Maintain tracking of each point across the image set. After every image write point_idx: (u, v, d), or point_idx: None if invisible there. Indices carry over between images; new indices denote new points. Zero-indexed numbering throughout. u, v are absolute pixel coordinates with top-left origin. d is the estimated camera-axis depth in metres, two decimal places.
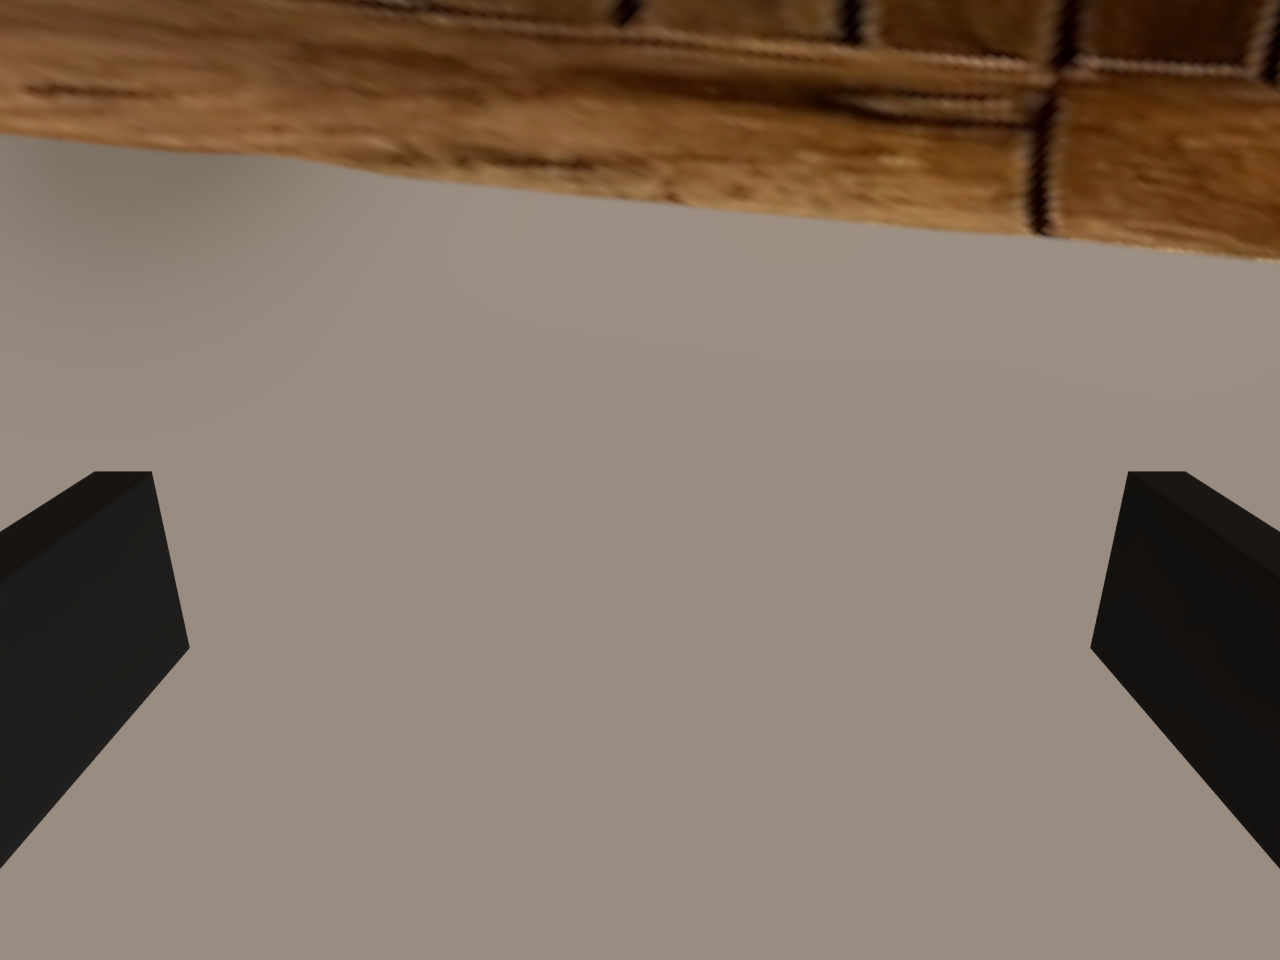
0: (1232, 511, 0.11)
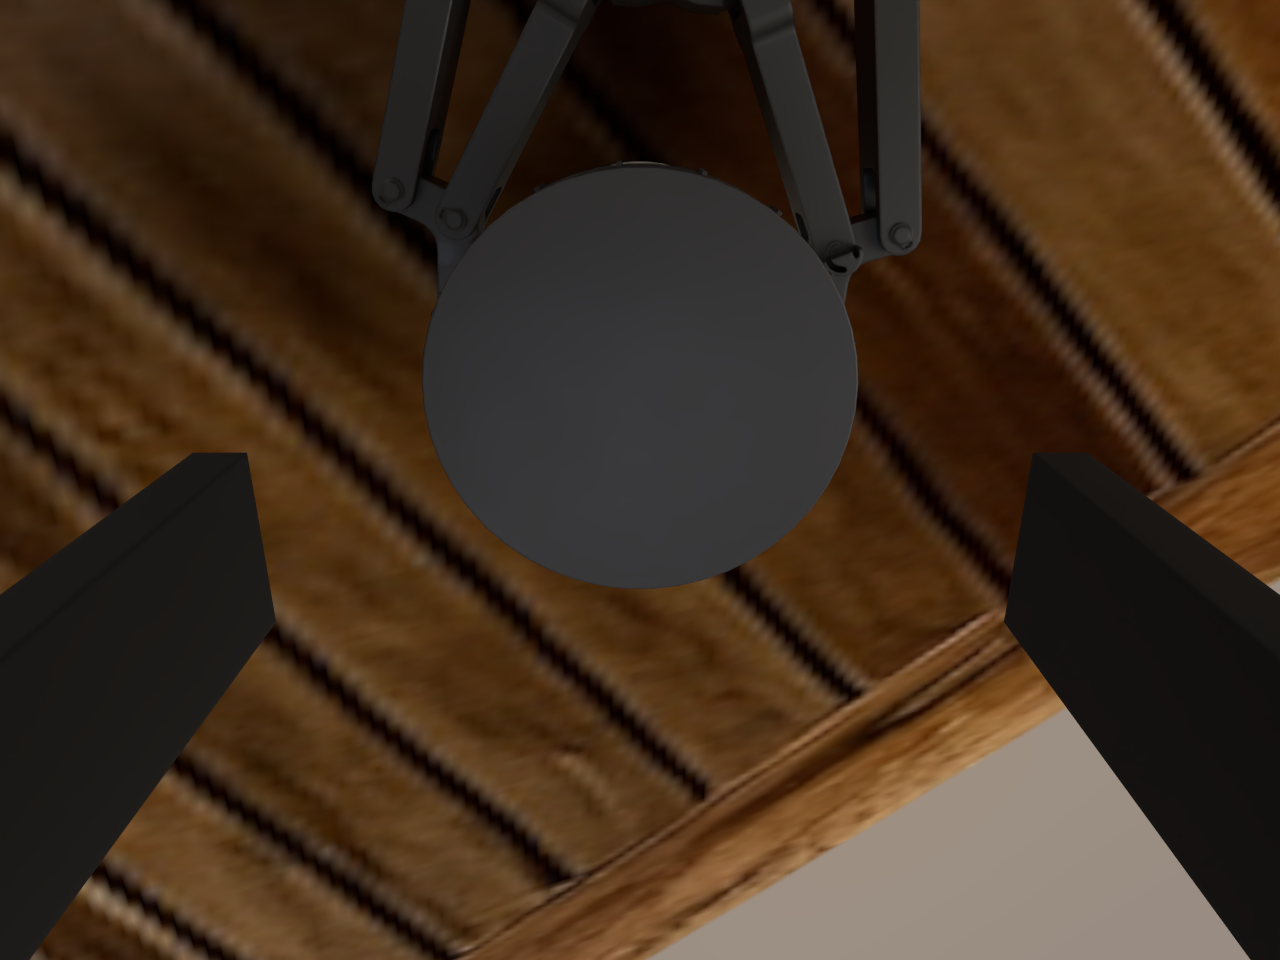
0: (1121, 488, 0.11)
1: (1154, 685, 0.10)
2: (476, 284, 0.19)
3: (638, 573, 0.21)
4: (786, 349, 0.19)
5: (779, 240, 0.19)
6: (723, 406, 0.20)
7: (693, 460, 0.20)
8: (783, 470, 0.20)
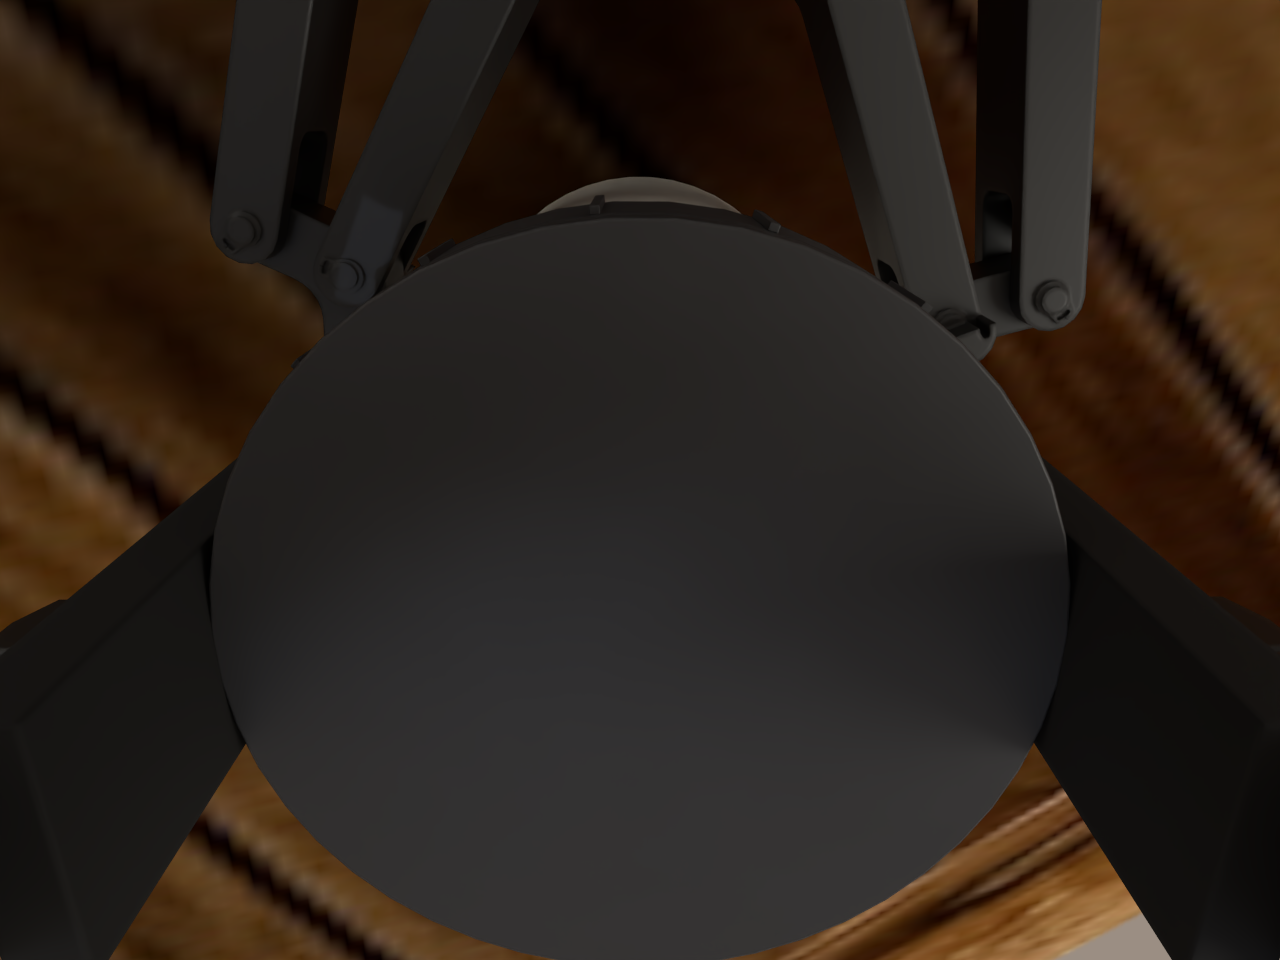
0: (1050, 475, 0.12)
1: (1070, 662, 0.10)
2: (304, 453, 0.09)
3: (637, 944, 0.12)
4: (932, 573, 0.10)
5: (931, 367, 0.09)
6: (802, 674, 0.10)
7: (741, 765, 0.11)
8: (913, 781, 0.11)
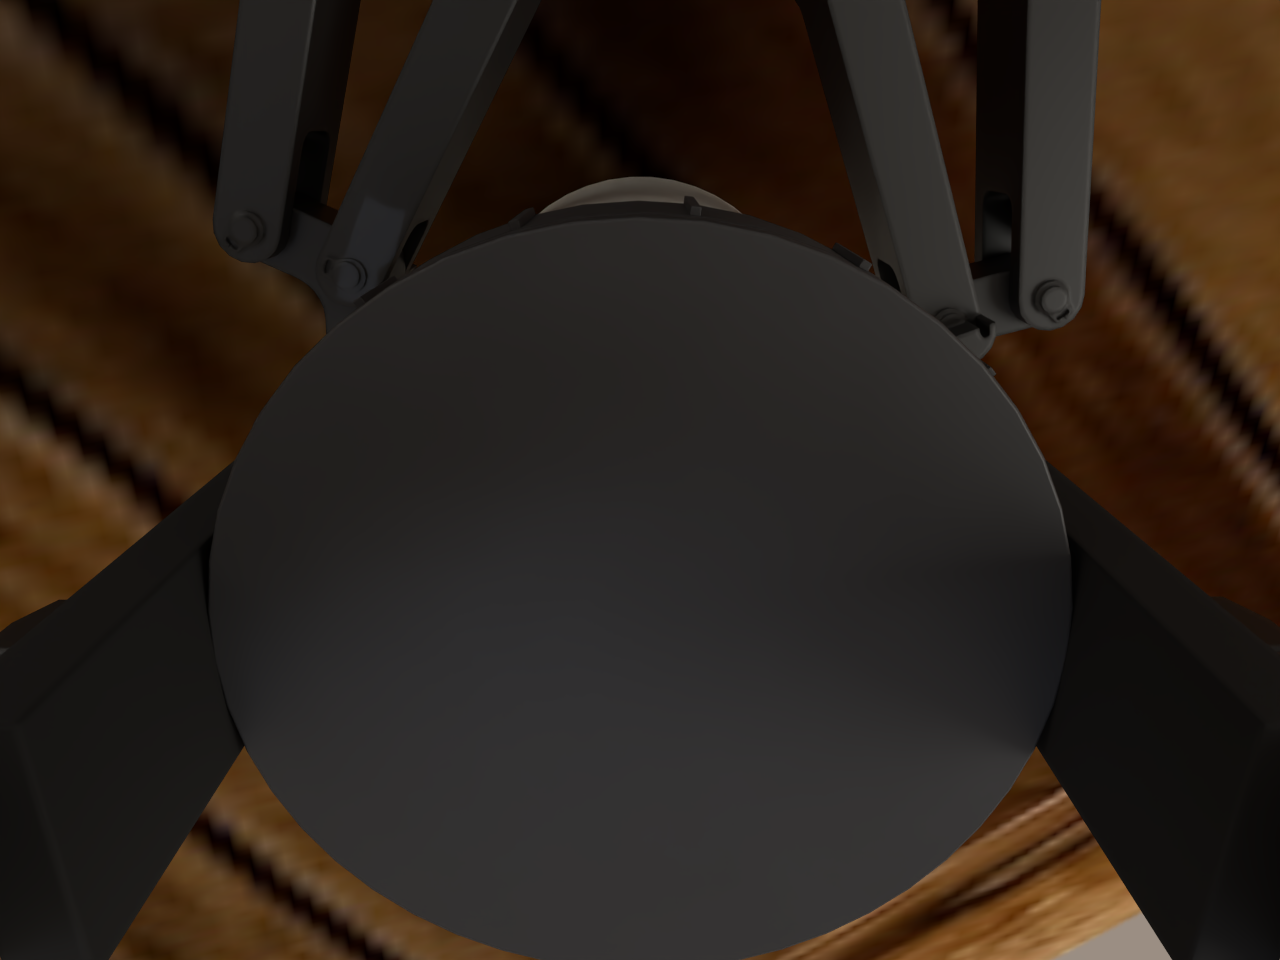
0: None
1: (1070, 663, 0.10)
2: (466, 903, 0.11)
3: (1032, 639, 0.10)
4: (509, 394, 0.09)
5: (288, 438, 0.09)
6: (647, 508, 0.09)
7: (770, 555, 0.10)
8: (790, 365, 0.09)
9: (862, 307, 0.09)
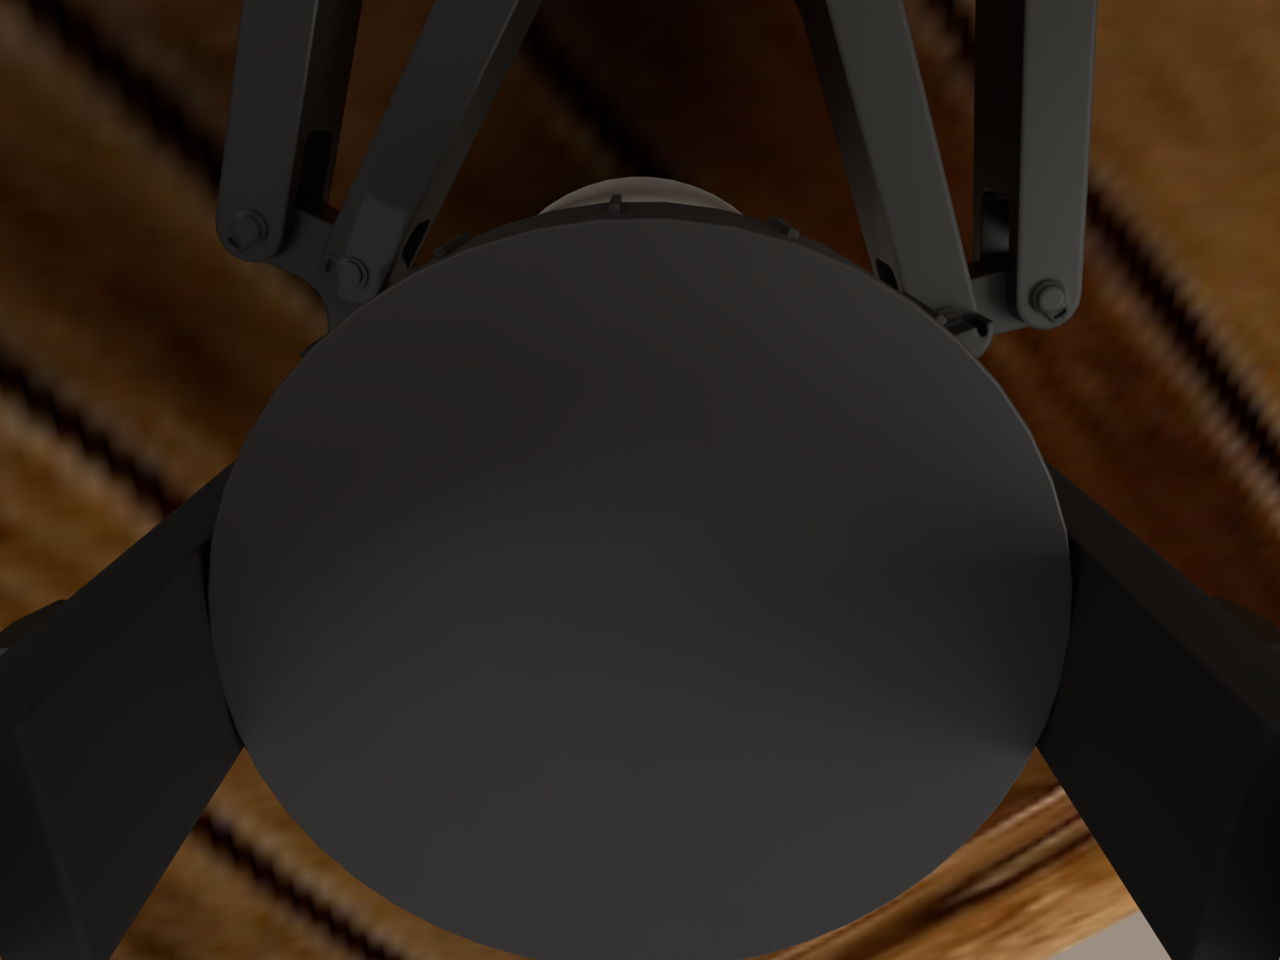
0: None
1: (1070, 663, 0.10)
2: (953, 798, 0.11)
3: (576, 271, 0.08)
4: (388, 771, 0.11)
5: (455, 911, 0.11)
6: (475, 665, 0.10)
7: (507, 557, 0.10)
8: (313, 563, 0.10)
9: (247, 510, 0.09)
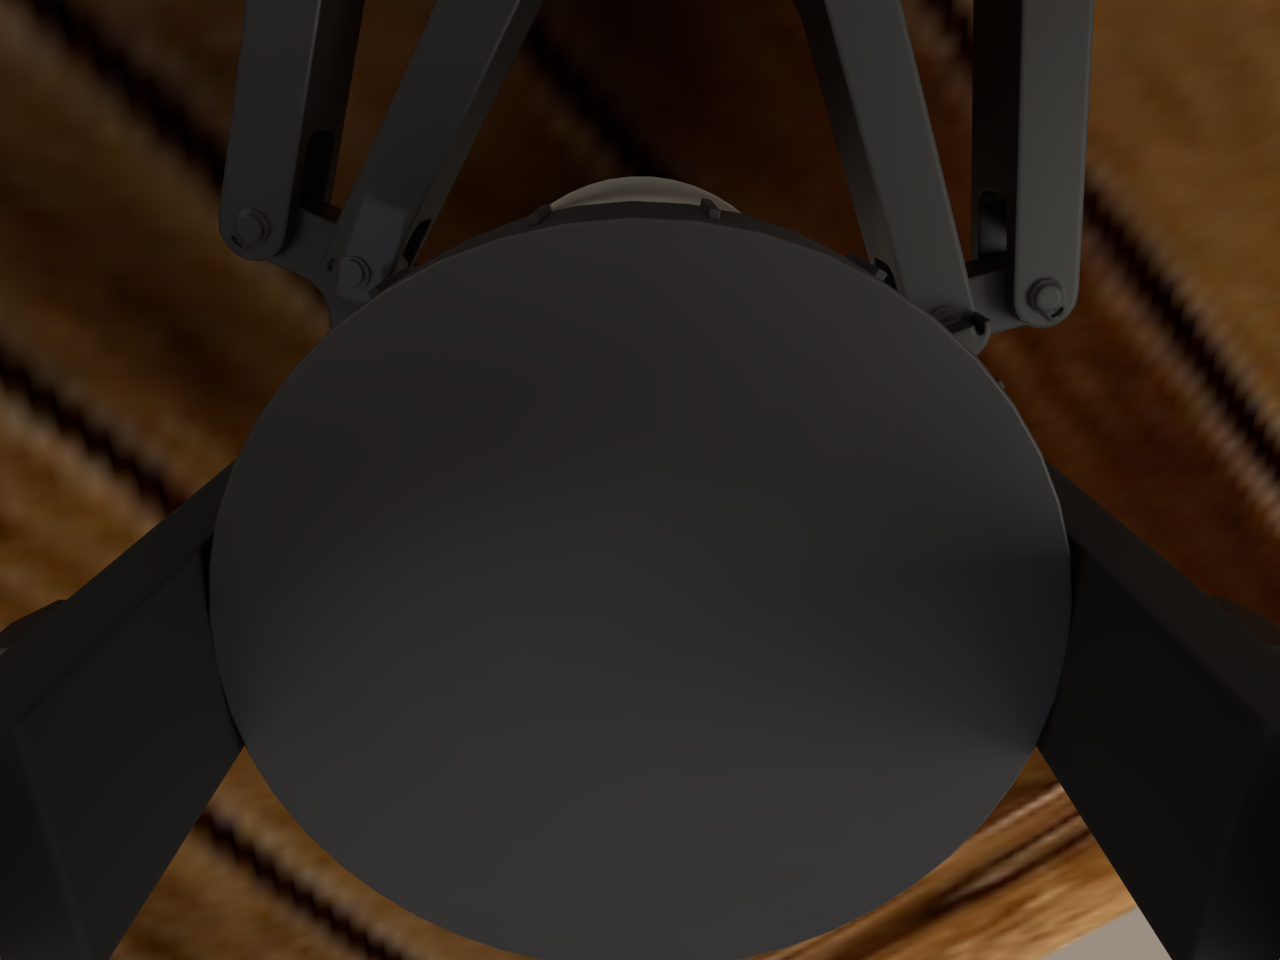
0: (1050, 475, 0.12)
1: (1070, 663, 0.10)
2: (811, 314, 0.09)
3: (272, 728, 0.10)
4: (780, 858, 0.11)
5: (963, 807, 0.11)
6: (655, 791, 0.11)
7: (539, 769, 0.11)
8: (563, 901, 0.11)
9: (521, 939, 0.12)
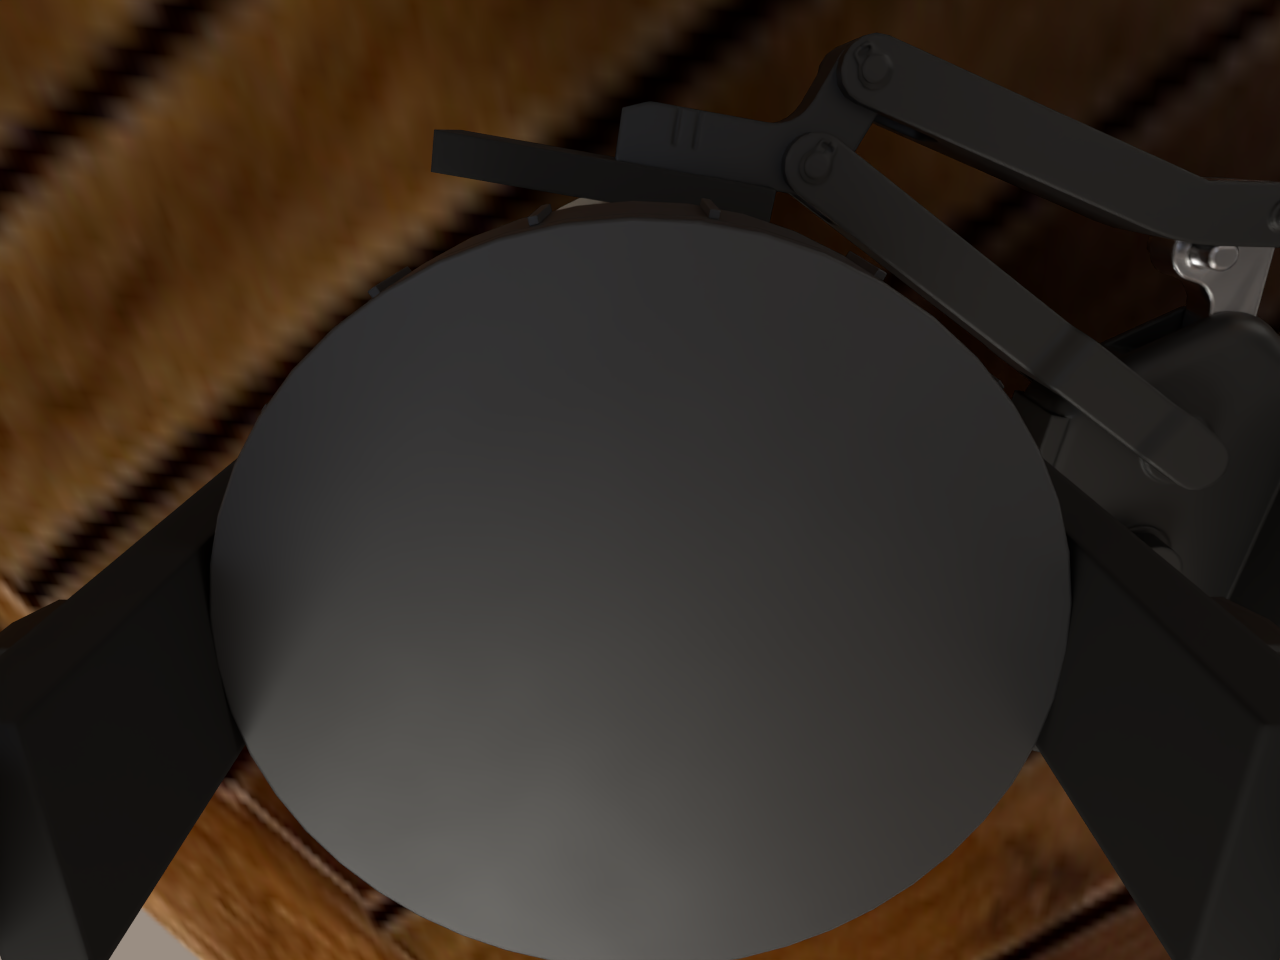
0: (1050, 475, 0.12)
1: (1070, 663, 0.10)
2: (811, 314, 0.09)
3: (273, 727, 0.10)
4: (780, 856, 0.11)
5: (962, 806, 0.11)
6: (655, 791, 0.11)
7: (539, 767, 0.11)
8: (564, 899, 0.11)
9: (522, 938, 0.12)
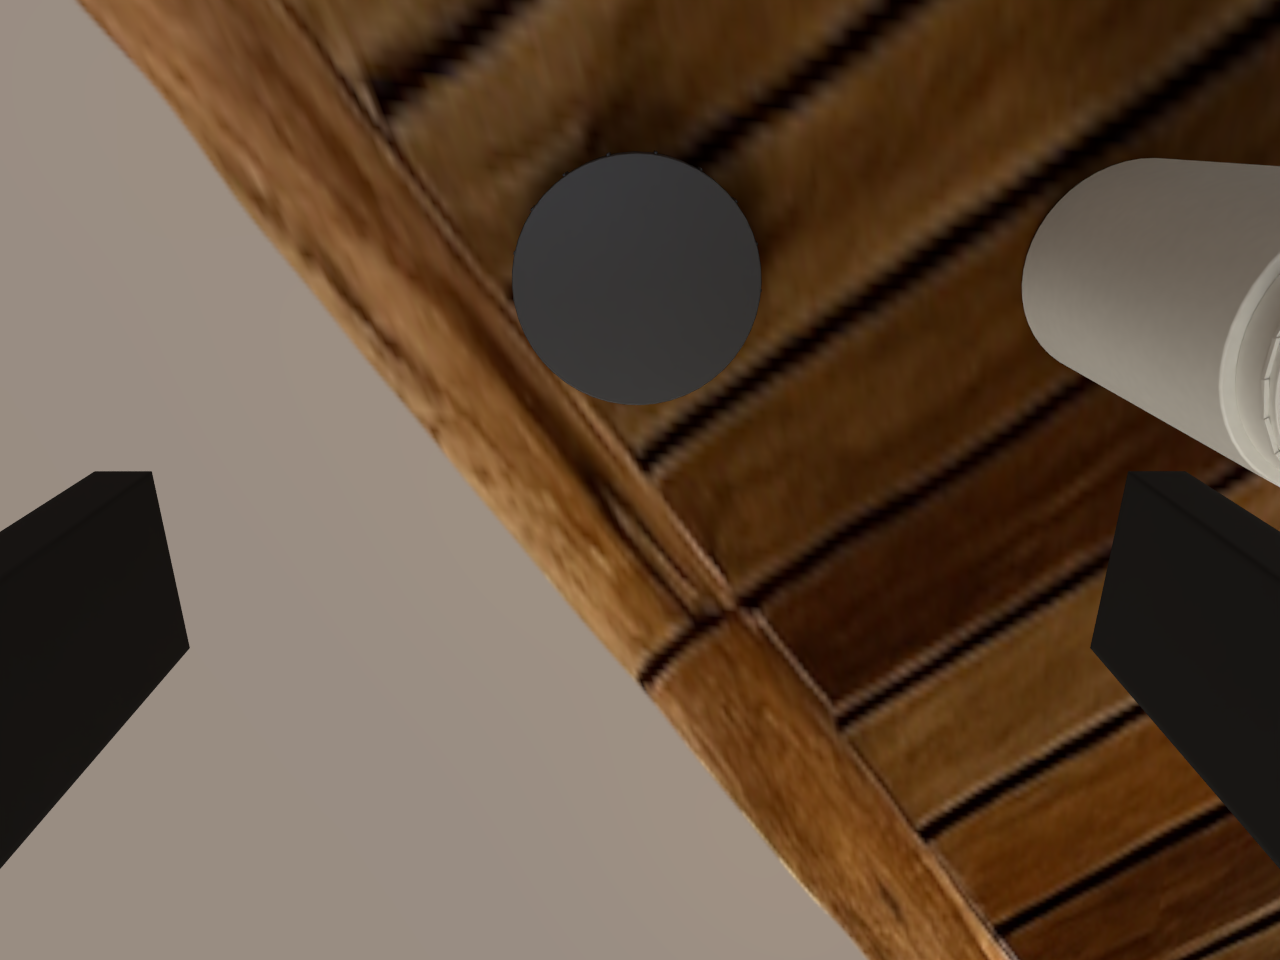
0: (1232, 511, 0.11)
1: None
2: (681, 178, 0.33)
3: (527, 309, 0.35)
4: (680, 358, 0.36)
5: (736, 338, 0.35)
6: (641, 333, 0.35)
7: (606, 324, 0.35)
8: (612, 376, 0.36)
9: (598, 391, 0.36)
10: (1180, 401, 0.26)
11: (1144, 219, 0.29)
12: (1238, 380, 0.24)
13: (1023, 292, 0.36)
